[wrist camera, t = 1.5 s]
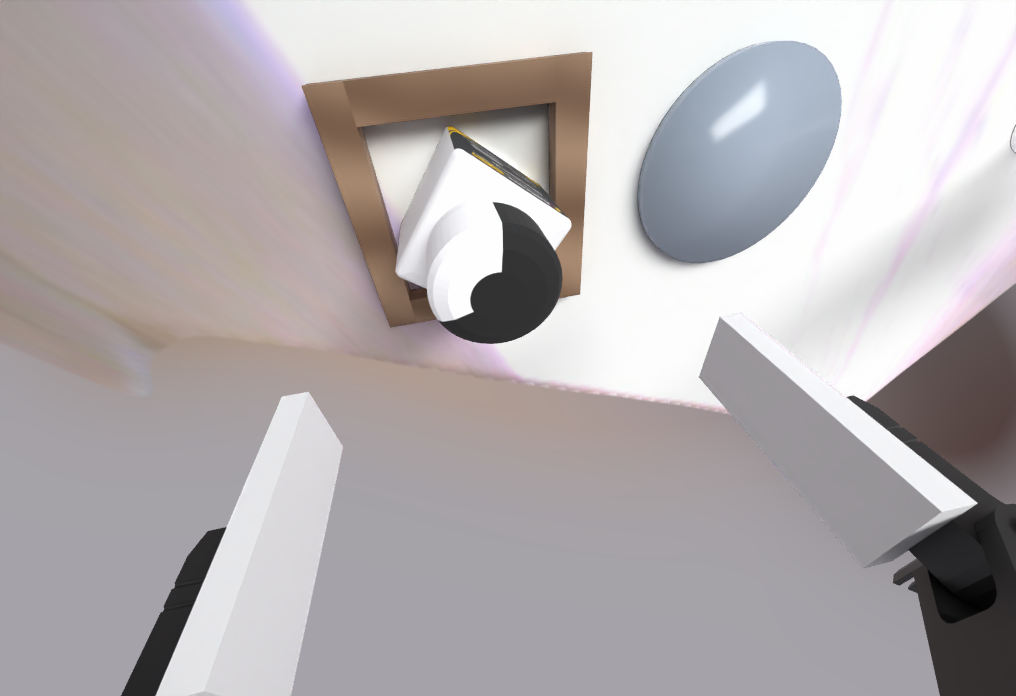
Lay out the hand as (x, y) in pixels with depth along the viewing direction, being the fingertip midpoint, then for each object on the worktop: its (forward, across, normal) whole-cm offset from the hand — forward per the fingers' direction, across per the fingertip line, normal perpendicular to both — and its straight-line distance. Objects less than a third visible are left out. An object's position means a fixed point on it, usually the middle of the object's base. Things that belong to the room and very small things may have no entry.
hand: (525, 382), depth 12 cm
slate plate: (+17, +19, 0) cm, 25 cm away
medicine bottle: (+17, 0, 0) cm, 17 cm away
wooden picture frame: (+17, 0, 0) cm, 17 cm away
